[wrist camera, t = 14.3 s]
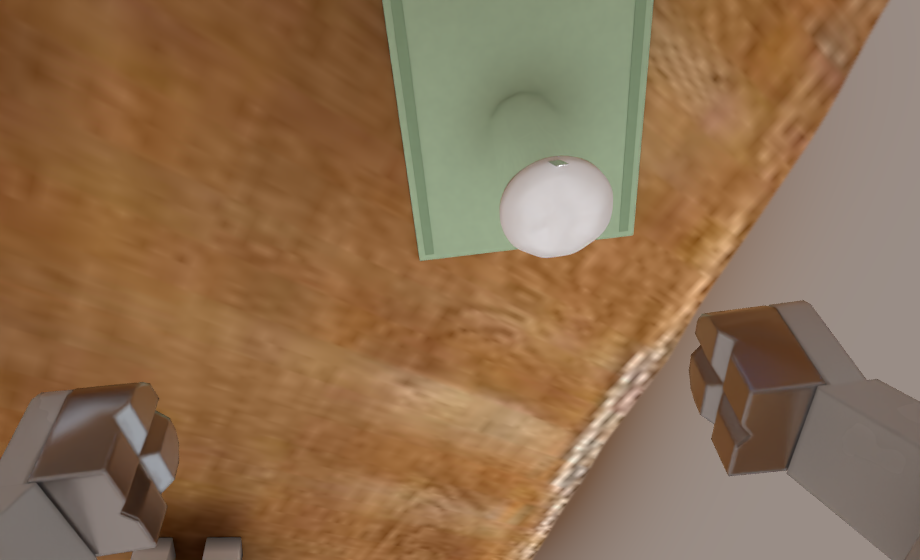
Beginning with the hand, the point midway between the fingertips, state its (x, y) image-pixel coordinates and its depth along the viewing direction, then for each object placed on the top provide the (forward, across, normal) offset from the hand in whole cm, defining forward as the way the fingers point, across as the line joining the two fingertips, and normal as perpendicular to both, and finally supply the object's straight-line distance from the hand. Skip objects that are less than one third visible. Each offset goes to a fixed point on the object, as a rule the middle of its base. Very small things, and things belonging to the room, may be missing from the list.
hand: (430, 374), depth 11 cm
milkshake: (+24, -5, +8) cm, 26 cm away
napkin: (+24, -5, +8) cm, 26 cm away
